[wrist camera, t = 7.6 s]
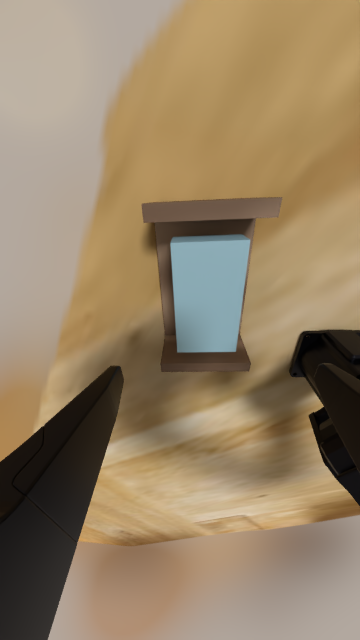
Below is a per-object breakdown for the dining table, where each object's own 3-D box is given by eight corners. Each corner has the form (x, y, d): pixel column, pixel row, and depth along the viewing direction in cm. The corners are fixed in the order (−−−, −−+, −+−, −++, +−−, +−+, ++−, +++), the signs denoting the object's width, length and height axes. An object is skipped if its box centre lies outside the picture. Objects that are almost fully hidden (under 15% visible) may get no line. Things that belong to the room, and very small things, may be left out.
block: (172, 236, 15) (170, 242, 13) (241, 233, 15) (250, 239, 13) (178, 336, 19) (177, 352, 17) (230, 335, 19) (235, 351, 17)
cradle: (237, 338, 23) (249, 371, 18) (166, 339, 23) (161, 371, 19) (256, 197, 16) (282, 197, 11) (153, 202, 16) (141, 203, 12)
